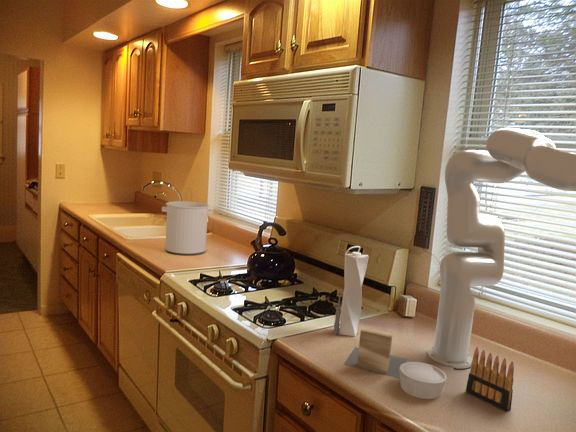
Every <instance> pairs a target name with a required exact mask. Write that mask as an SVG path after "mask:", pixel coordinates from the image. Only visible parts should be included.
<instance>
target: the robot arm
mask: <svg viewBox="0 0 576 432" xmlns="http://www.w3.org/2000/svg"><path fill="white" fill-rule="evenodd" d="M485 147H486V150H479V149H478V150H477V149H466V150H463V149H462V150H459V151H457V152H455V153H454V154H453V155H451V157H450V158H449V159H448V161H447V162H446V164H445V169H444V181H445V188H446V189H445V190H446V193H447V210H446V211H447V214H446V215H447V217H446V236H447V241H448V243H449V244H450V245H452V246H454V247H459V248H475V249H477V252H476V251H474V252H473V251H457V252H456V251H455V252H450V253H448V254H446V255H444V257H442V259H441V261H440V264H439V275H440V276H439V277H440V292H439V301H438V308H437V309H438V311H437V319H436V325H435V326H436V327H435V333H434V342H433V346H432V347H430V348H428V350H427V353H426V354H427V356H428V357H429V359H431V360H432V361H434V362H435V363H438V364H440V365H442V366H447V367H451V368H453V369H457V370H458V369H459V370H463V369H469V368H471V363H472V360H473V357H472V356H471V355H470V354H469V350H470V345H471V336H472V328H473V323H474V314H475V308H476V304H475V303H476V302H475V301H476V300H475V298H474V295H473V293H472V290H471V287H491V286H495V285H497V284H499V283H500V282H501V280H502V279H503V275H504V270H505V268H504V267H505V246H506V245H505V242H506V241H505V239H506V238H505V237H506V235H505V228H504V225H503V223H502V222H501V220H500V219H499V218H498V217H497V216H494V215H492V214H484V213H483V214H481V213H480V212H481V211H480V205H481V199H480V196H479V193H478V191H477V189H476V188H475V186H474V185H473V183H475V182H477V183H486V184H487V183H490V184H504V183H508V182H510V181H512V180H513V179H516V178H517V177H519V176H520V175H522V174H524V173H526V175H527V176H528V178H530V179H531V180H533V181H535V182H538V183H539V184H542V185H545V186H547V187H550V188H554V189H556V190H560V191H566V192H567V191H569V192H576V152H569V151H566V150H565V151H564V150H561V149H560V150H559V149H557V148H556V145H555V143H554V142H553V141H552V140H551V139H550V138H547V137H545V136H544V135H543V133H540V132H539V131H536V130H533V129H532V130H531V129H525V128H523V129H521V128H513V127H504V128H503V127H502V128H499V129H496V130H494V131H493V132H492V133H491V134H489V136H488V137H487V139H486V143H485Z"/></svg>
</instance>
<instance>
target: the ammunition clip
mask: <svg viewBox="0 0 576 432" xmlns="http://www.w3.org/2000/svg"><path fill="white" fill-rule="evenodd" d="M479 355H480V357H479ZM472 359H473V360H472V363H471V367H470V369H469V372H468V376H467V383H466V388H465V393H467V394H469V395H471V396H472V397H475V398H477V399H479V400H480V401H484V402H486V403H487V404H490V405H491V406H493V407H496V408H497V409H500V410H502V411H503V412H506V413H508V412H510V411H511V410H512V400H513V390H514V388H513V384H514V373H515V365H514V364H515V363H514V361H510V363H509V366H508V369H507V359H506V357H504V358H503V360H502V362H501V365H500V357H499V355H498V354H497V355H496V356H495V358H494V361H493V355H492V352H489V354H488V355H487V358H486V350H485V349H483V350H482V351H481V353H480V352H479V348H478V346H477V347H476V348H475V350H474V353H473V357H472ZM492 364H493V365H492ZM499 367H500V369H499ZM506 373H507V374H506Z"/></svg>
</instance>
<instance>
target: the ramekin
mask: <svg viewBox="0 0 576 432" xmlns="http://www.w3.org/2000/svg"><path fill="white" fill-rule="evenodd" d="M399 373H400V378H399V379H400V380H399V382H400V383H399V384H400V388H401V389H402V391H404V392H405V393H406V394H408V395H409V396H412V397H414V398H418V399H422V400H423V399H424V400H434V399H437V398H439V397H440V396H441V395H442V392H443V389H444V387H445V384H446V383H447V379H448V377H447V374H446V373H445V372H444V371H443V370H442V369H440V368H439V367H437V366H435V365H432V364H429V363H426V362H421V361H406V363H403V364H401V365H400V367H399Z"/></svg>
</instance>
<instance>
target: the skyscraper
mask: <svg viewBox="0 0 576 432" xmlns="http://www.w3.org/2000/svg"><path fill="white" fill-rule="evenodd" d="M355 248H358V250H357V251H352V252H351V253H348V252H350V251H349V250H352V249H355ZM361 249H362V248H361V246H360V245H354V246H351V247H348V249H347V250H346V251H345V253H344V271H343V272H344V273H343V275H344V287H343V288H344V289H343V295H342V300H341V297H340V296H338V302H337V306H336V307H337V309H336V310H335V316H334V317H335V318H334V325H333V326H334V327H333V335H334V336H339V335H345V336H350V337H355V338H356V337H357V336H358V334H359V327H360V322H361V316H362V315H361V314H362V306H363V305H362V304H363V294H362V293H363V291H362V290H363V289H362V286H363V283H364V280H365V276H366V272H367V267H368V263H369V258H370V256H369V255H368V254H362V253H361V252H360V250H361Z"/></svg>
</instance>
